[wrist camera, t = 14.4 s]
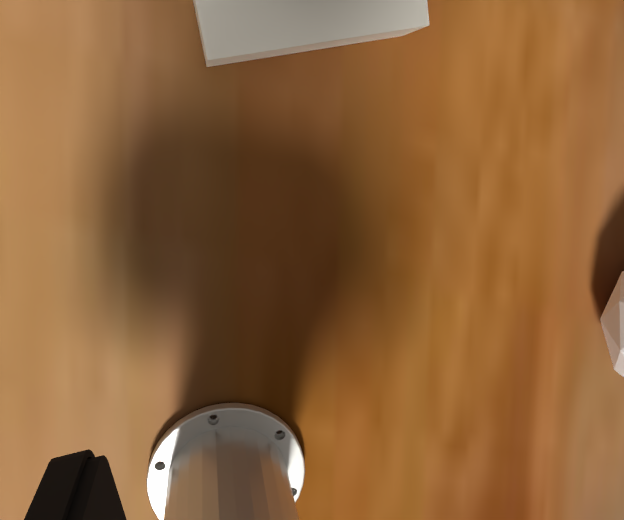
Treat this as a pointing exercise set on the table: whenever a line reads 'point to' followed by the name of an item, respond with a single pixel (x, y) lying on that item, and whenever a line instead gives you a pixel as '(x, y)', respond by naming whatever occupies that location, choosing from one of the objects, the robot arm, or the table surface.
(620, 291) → the geodesic sphere
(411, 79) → the table surface
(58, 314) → the table surface
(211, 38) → the slotted block
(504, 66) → the table surface
